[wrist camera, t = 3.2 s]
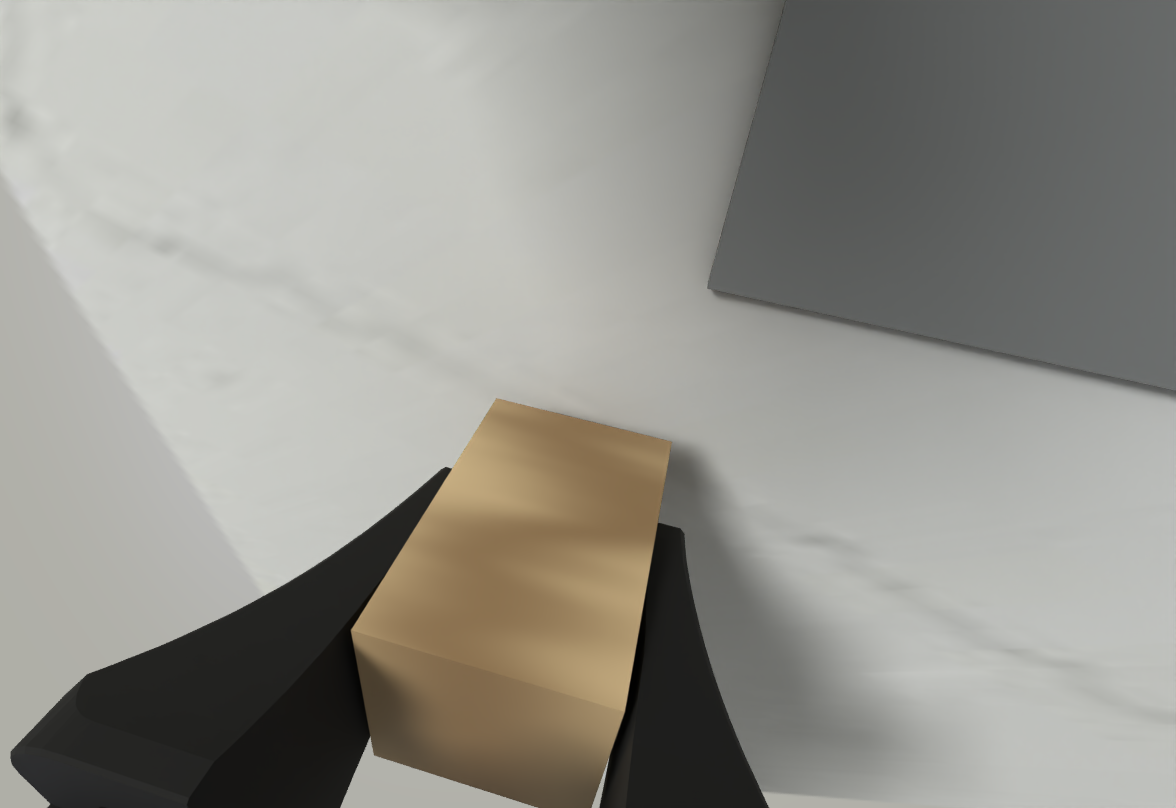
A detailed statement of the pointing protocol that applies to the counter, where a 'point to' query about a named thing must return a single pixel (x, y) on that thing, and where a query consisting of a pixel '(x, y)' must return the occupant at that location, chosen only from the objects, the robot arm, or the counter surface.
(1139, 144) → the mat
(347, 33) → the counter surface
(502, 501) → the oak block
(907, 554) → the counter surface
